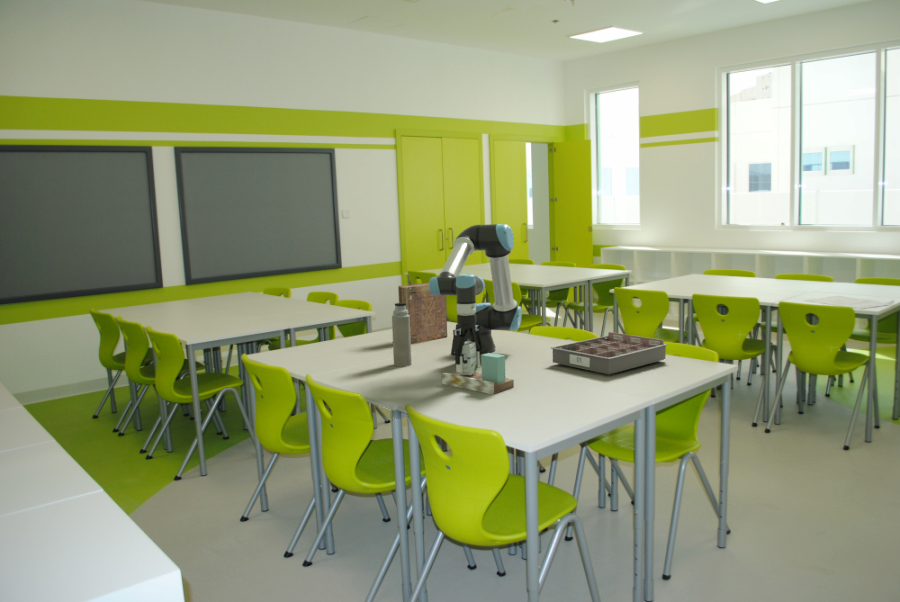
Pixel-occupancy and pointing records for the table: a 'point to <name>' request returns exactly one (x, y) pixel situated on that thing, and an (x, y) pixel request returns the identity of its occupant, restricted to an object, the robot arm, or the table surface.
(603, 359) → the organizer tray
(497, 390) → the brown flat block
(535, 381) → the table surface
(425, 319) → the book
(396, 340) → the thermos bottle
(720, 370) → the table surface
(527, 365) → the table surface
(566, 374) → the table surface
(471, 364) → the ink box
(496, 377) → the teal block
